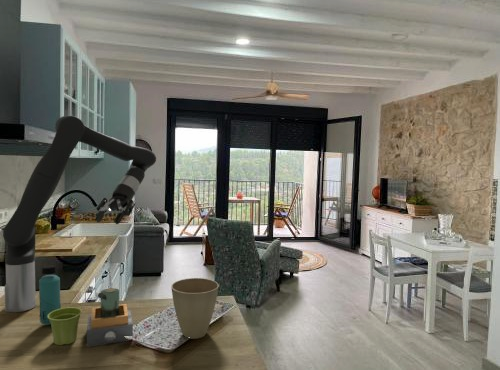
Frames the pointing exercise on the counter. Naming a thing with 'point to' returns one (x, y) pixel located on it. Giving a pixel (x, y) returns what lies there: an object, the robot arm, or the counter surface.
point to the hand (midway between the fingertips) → (106, 222)
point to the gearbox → (109, 327)
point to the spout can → (109, 302)
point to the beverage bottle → (49, 293)
